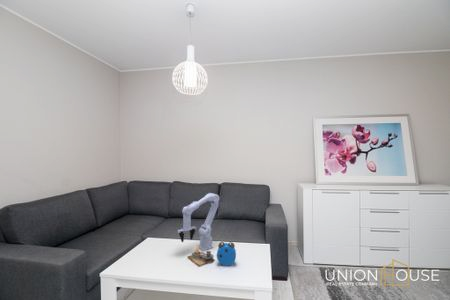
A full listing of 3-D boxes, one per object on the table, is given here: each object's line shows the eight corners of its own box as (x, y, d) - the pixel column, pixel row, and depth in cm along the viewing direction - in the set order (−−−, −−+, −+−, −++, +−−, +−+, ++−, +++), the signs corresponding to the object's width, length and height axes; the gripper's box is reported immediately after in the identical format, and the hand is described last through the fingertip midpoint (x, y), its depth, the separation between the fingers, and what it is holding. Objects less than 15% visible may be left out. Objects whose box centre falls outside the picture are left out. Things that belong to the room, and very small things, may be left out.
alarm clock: (235, 262, 157) (235, 240, 157) (235, 266, 151) (235, 244, 151) (217, 261, 158) (217, 240, 158) (216, 266, 151) (216, 244, 152)
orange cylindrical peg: (197, 256, 164) (197, 246, 164) (199, 257, 162) (199, 247, 162) (194, 257, 162) (194, 247, 162) (197, 258, 160) (197, 248, 160)
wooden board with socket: (202, 252, 171) (202, 244, 171) (215, 261, 158) (215, 252, 158) (187, 257, 163) (187, 248, 163) (199, 267, 150) (199, 257, 150)
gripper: (192, 219, 178) (192, 236, 178) (175, 223, 169) (175, 241, 169) (197, 221, 172) (197, 239, 172) (180, 225, 163) (180, 244, 163)
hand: (186, 240), depth 170 cm, fingers open, 7 cm apart
